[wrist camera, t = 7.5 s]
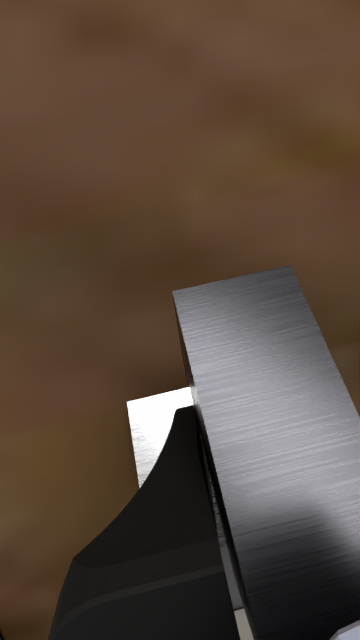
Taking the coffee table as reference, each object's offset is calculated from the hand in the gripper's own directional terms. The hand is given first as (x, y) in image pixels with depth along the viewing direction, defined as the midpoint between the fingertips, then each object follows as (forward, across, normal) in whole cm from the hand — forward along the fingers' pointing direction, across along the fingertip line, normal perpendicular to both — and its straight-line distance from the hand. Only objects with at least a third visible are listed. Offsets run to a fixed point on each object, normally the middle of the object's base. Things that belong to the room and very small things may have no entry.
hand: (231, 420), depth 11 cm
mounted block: (0, 0, -3) cm, 3 cm away
